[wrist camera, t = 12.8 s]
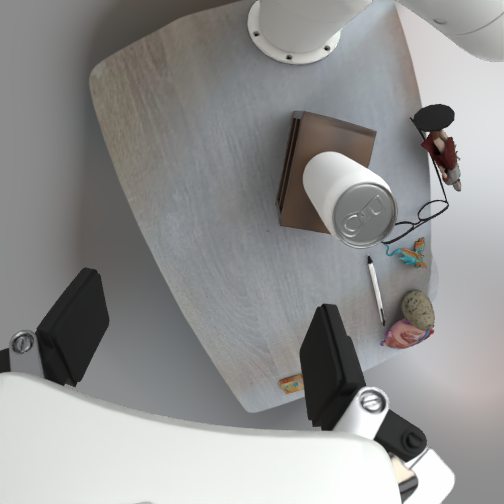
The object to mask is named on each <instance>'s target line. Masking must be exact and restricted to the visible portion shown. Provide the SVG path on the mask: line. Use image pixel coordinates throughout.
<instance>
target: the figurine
mask: <svg viewBox="0 0 504 504" xmlns="http://www.w3.org/2000/svg"><path fill="white" fill-rule="evenodd" d="M454 114H455V113H454V111H453V110H452V109H451V108H450V107H449V106H446V105H442V104H436V105H429V106H427V107H425V108H422V109H420V110H419V111H418V112H417V113H416V114H415V115H414V119H413V123H414V125H415V126H416V128H417V129H419V130H422V131H425V132H430V134H429V135H428V137H427V139H426V140H425V141H424V142H422V143H421V146H422V147H424V148H425V149H426V150H427V151H428V152H429V153H430V155H431V156H432V158H433V159H434V161H435V162H436V164H437V165H438V167H439V169H440V171H441V173H442V179H443V181H444V182H445V183H446V184H447V185H453V187H454V189H455V190H456V191H461V183H460V179H459V177H460V170H459V166H458V164H457V158H458V159H459V160H460V158H459V157H458V156H457V155H456V153H457V152H458V151H456V153H455V147H456V145H455V144H454V142H453V138H452V137H447V135H446V133H445V132H444V131H443V130H442V129H444V128H446V127H448V126H449V125H450V124H451V123H452V122H453V121H454Z"/></svg>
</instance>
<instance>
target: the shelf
mask: <svg viewBox="0 0 504 504" xmlns="http://www.w3.org/2000/svg"><path fill="white" fill-rule="evenodd" d="M376 133H377V131H374V130H371V129H368V128H365V127H362V126H358V125H355V124H352V123H348V122H345V121H341V120H338V119H334V118H330V117H326V116H322V115H318V114H314V113H310V112H305V111H294V112H293V117H292V123H291V128H290V133H289V138H288V144H287V149H286V154H285V159H284V164H283V169H282V174H281V179H280V184H279V189H278V194H277V199H276V208H277V213H278V218H279V223H280V226H285V227H291V228H297V229H303V230H309V231H315V232H321V233H327V234H331V233H330V232H329V230H328V229H327V227H326V226H325V224H324V223H323V221H322V219H321V217H320V216H319V214H318V212H317V210H316V209H315V207H314V205H313V204H312V202H311V200H310V198H309V197H308V195H307V193H306V191H305V189H304V185H303V173H304V170H305V167H306V165H307V164H308V162H309V161H310V160H311V159H312V158H313V157H315V156H316V155H318V154H320V153H323V152H337V153H340V154H342V155H344V156H346V157H348V158H350V159H352V160H353V161H355V162H357V163H358V164H360V165H362V166H363V167H365V168H367V169H368V166H369V162H370V158H371V154H372V150H373V145H374V141H375V137H376Z"/></svg>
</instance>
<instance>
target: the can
mask: <svg viewBox="0 0 504 504" xmlns="http://www.w3.org/2000/svg"><path fill="white" fill-rule="evenodd" d="M303 185H304V189H305V191H306V193H307V195H308V197H309V198H310V200H311V202H312V204H313V205H314V207H315V209H316V210H317V212H318V214H319V216H320V217H321V219H322V221H323V223H324V224H325V226H326V227H327V229H328V230H329V232H330V233H331V234H332V235H333V236H334V237H335V238H337V239H338V240H340V241H342V242H343V243H344V244H346V245H348V246H350V247H353V248H358V249H364V248H370V247H373V246H375V245H377V244H379V243H380V242H382V241H383V240H384V239H385V238H387V236H388V235H389V234H390V233H391V231H392V230H393V228H394V226H395V223H396V220H397V213H398V209H397V203H396V200H395V197H394V196H393V194H392V192H391V190H390V188H389V186H388V185H387V184H386V182H385V181H384V180H383V179H382V178H380V177H379V176H378V175H376V174H375V173H373V172H372V171H370V170H368V169H367V168H365V167H363V166H362V165H360V164H358V163H357V162H355V161H353V160H352V159H350V158H348V157H346V156H344V155H342V154H340V153H337V152H323V153H320V154H318V155H316V156H315V157H313V158H312V159H311V160H310V161H309V162H308V164H307V165H306V167H305V170H304V173H303Z"/></svg>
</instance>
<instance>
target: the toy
mask: <svg viewBox="0 0 504 504" xmlns="http://www.w3.org/2000/svg"><path fill="white" fill-rule="evenodd" d="M279 384H280V386H281V388H282V389H283V390H284V391H285V393H286V394H289V393H292V392H296V391H300V390H303V389H304V384H303V376H302V374H300V375H297V376H294V377H290V378H287V379H283V380H280V381H279Z"/></svg>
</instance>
